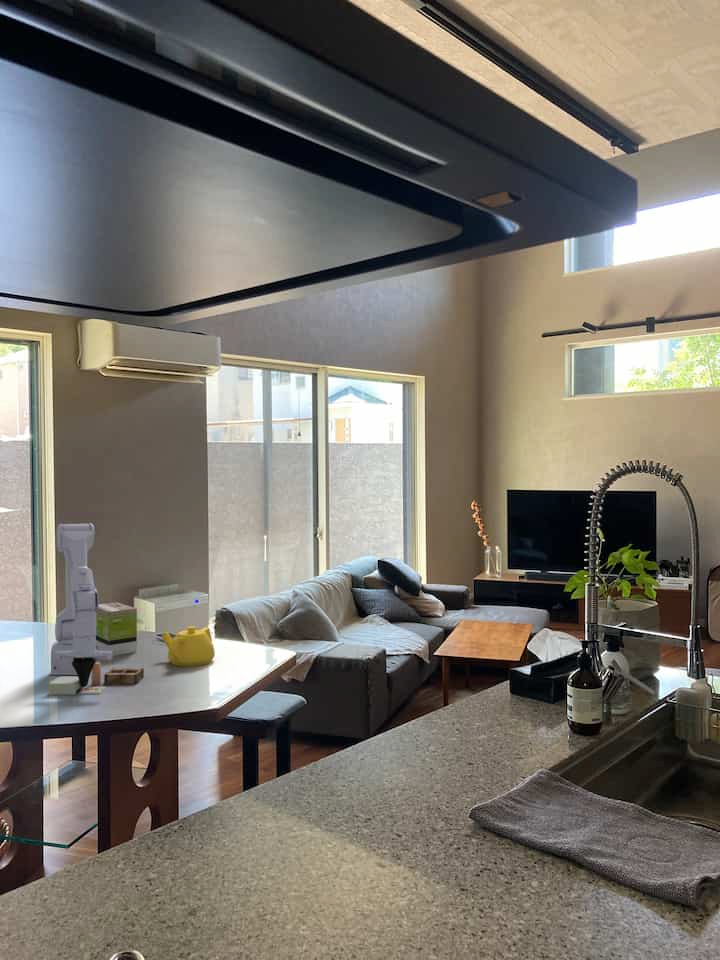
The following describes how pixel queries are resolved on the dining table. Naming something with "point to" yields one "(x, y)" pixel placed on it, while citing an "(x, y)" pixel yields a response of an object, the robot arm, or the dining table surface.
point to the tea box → (116, 628)
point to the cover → (64, 685)
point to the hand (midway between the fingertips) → (84, 685)
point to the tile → (93, 690)
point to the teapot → (190, 647)
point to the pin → (96, 674)
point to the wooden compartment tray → (124, 676)
